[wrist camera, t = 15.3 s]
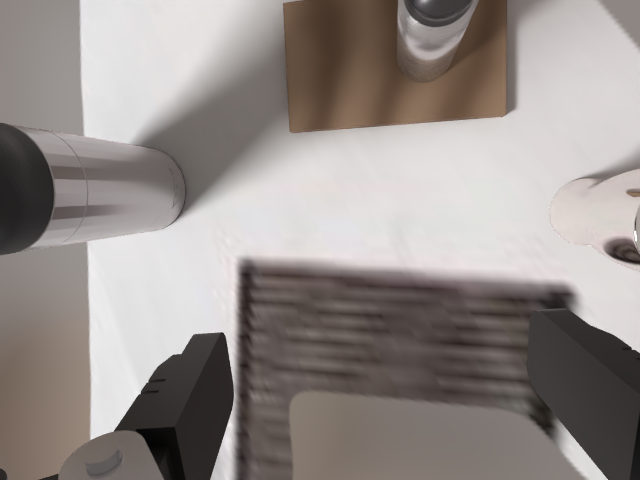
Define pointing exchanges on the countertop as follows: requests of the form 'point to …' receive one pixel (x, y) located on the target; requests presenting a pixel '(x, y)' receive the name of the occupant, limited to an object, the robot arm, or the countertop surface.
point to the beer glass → (601, 216)
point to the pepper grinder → (430, 35)
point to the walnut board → (385, 68)
